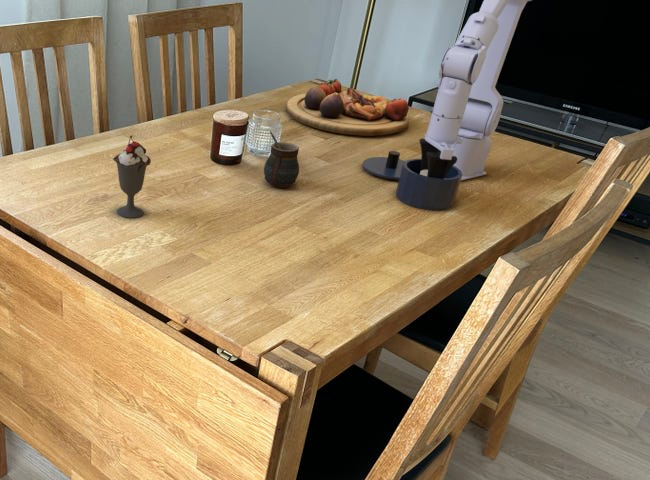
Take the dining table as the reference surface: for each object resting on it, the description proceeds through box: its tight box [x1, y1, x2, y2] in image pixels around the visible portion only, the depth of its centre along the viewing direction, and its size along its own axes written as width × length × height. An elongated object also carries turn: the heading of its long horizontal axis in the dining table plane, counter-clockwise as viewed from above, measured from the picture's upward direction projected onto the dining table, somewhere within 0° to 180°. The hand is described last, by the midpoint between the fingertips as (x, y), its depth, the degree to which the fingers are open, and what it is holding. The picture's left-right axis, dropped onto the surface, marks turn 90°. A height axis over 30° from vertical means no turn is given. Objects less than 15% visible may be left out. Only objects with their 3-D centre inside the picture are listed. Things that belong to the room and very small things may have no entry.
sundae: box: [112, 134, 152, 219], centre depth 130 cm, size 7×7×15 cm
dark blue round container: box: [395, 158, 462, 211], centre depth 147 cm, size 11×11×6 cm
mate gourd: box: [263, 131, 300, 189], centre depth 147 cm, size 7×8×10 cm
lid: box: [361, 150, 406, 181], centre depth 159 cm, size 12×12×4 cm
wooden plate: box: [285, 78, 410, 137], centre depth 189 cm, size 32×32×8 cm
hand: (428, 182), depth 147 cm, fingers open, 6 cm apart
